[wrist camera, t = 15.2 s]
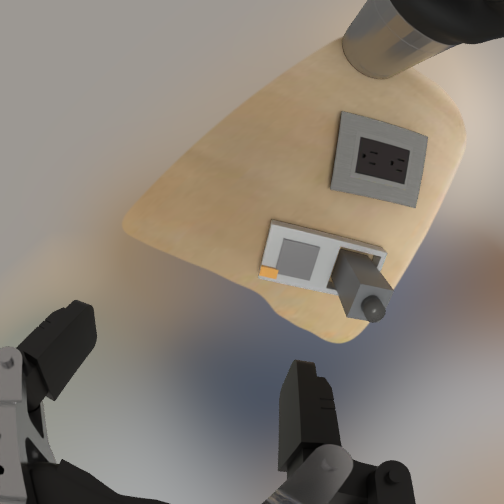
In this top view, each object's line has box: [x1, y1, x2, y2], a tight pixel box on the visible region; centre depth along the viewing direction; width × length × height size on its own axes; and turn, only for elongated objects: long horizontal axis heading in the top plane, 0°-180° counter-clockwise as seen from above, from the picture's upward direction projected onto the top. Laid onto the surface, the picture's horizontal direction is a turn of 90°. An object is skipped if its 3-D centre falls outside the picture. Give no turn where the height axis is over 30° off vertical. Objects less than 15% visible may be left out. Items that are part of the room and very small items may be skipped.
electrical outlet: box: [330, 111, 428, 208], centre depth 34 cm, size 13×10×2 cm
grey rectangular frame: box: [258, 220, 387, 295], centre depth 39 cm, size 8×17×3 cm, turn 78°
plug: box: [331, 249, 394, 323], centre depth 34 cm, size 4×4×13 cm
